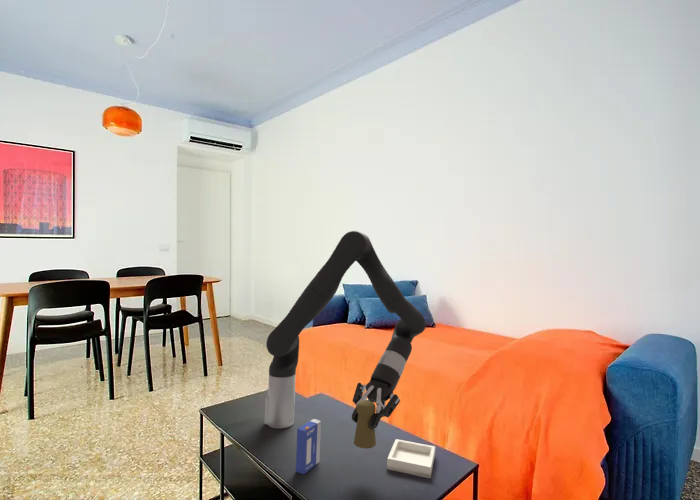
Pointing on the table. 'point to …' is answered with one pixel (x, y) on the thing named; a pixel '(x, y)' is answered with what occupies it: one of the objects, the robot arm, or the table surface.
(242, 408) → the table surface
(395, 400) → the robot arm
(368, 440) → the olive pepper mill
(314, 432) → the walkman
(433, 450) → the tray
